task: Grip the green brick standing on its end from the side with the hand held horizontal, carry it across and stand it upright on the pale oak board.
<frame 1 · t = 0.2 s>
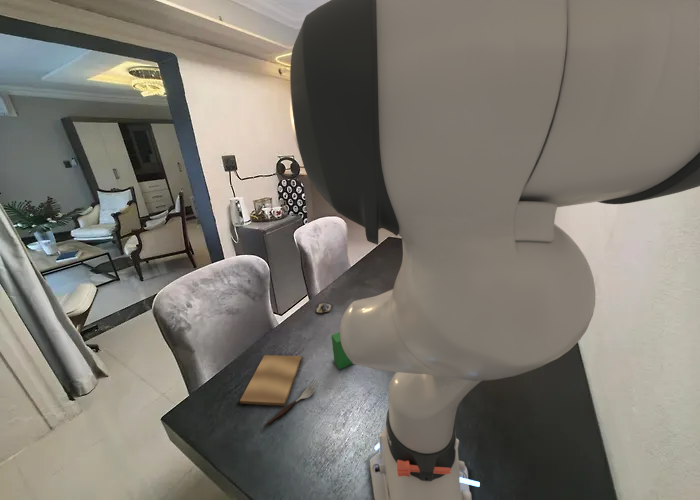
hand: (406, 198, 63), 48 cm above the table, tool pointing down, fingers open, 8 cm apart
fork: (292, 406, 67), on the table
brick: (344, 362, 79), on the table
board: (273, 379, 75), on the table
tan grey flat shell: (323, 308, 106), on the table
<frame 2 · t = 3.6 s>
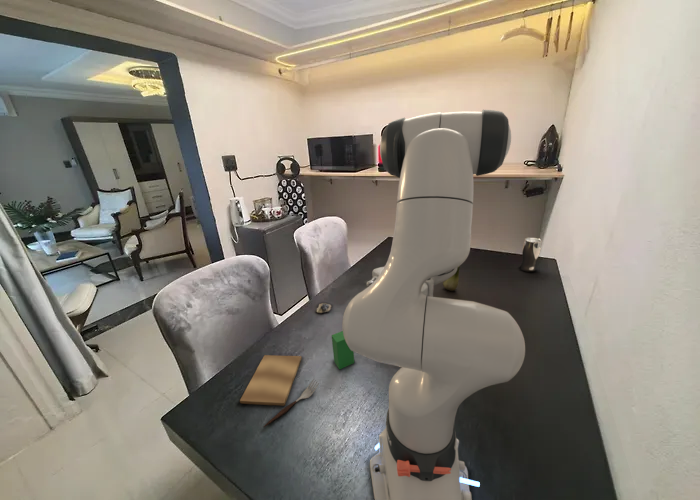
hand: (376, 292, 77), 20 cm above the table, tool horizontal, fingers open, 8 cm apart
nothing on the table moved.
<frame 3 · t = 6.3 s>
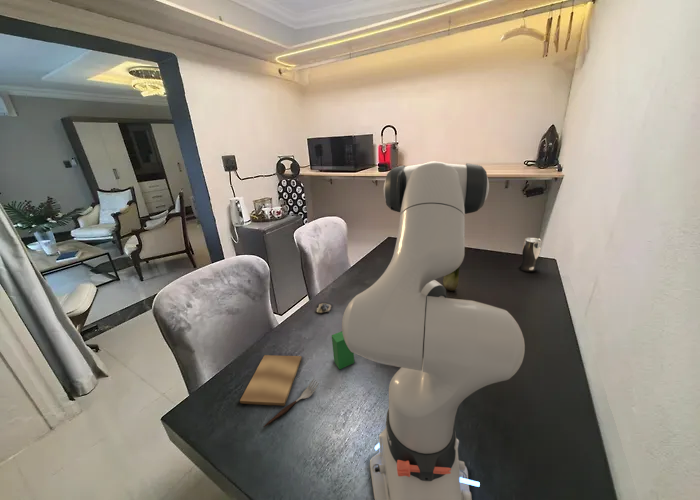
hand: (369, 336, 81), 6 cm above the table, tool horizontal, fingers open, 8 cm apart
nothing on the table moved.
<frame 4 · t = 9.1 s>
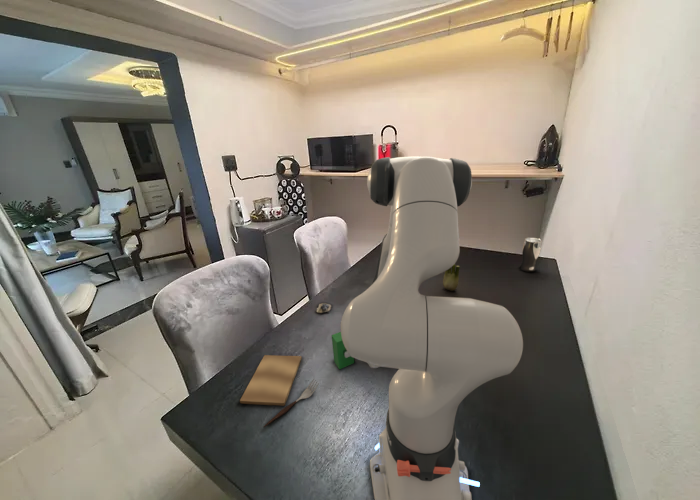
hand: (340, 349, 77), 6 cm above the table, tool horizontal, fingers closed on brick, 3 cm apart
brick: (344, 362, 79), on the table, touching gripper
everything else where it was.
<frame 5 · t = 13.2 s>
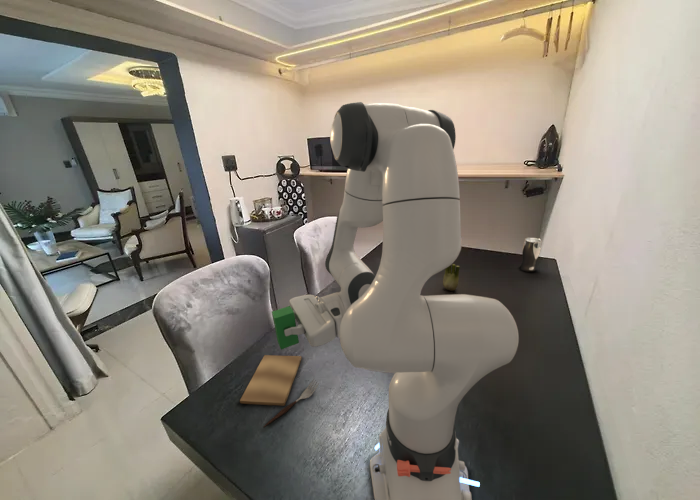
hand: (281, 327, 70), 17 cm above the table, tool horizontal, fingers closed on brick, 3 cm apart
brick: (288, 342, 72), point 11 cm above the table, touching gripper
everything else where it was.
when the fingers open (6 cm above the table, at t = 17.2 s): brick stays where it is, resting on board.
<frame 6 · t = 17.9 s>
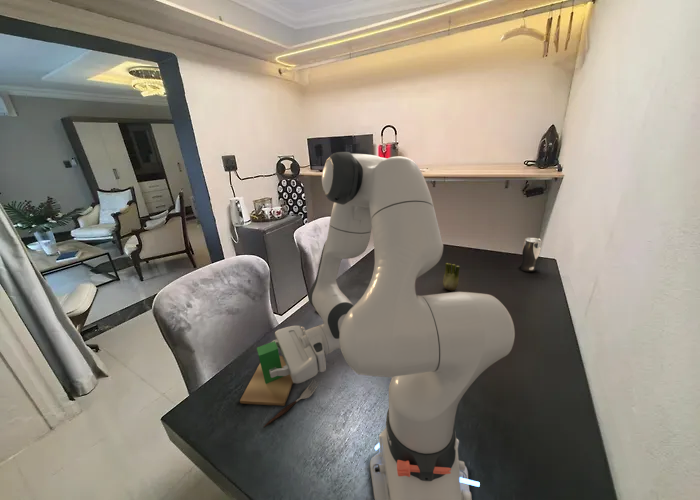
hand: (266, 362, 72), 7 cm above the table, tool horizontal, fingers open, 8 cm apart
brick: (273, 375, 75), point 1 cm above the table, touching board
everything else where it was.
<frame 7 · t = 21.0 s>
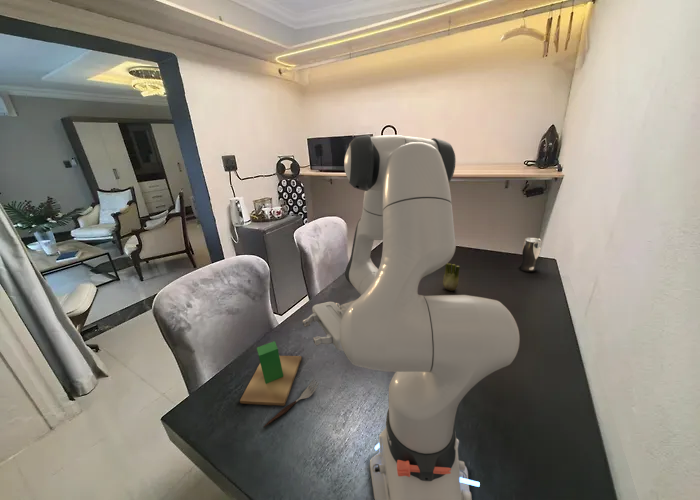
hand: (308, 332, 76), 11 cm above the table, tool horizontal, fingers open, 8 cm apart
nothing on the table moved.
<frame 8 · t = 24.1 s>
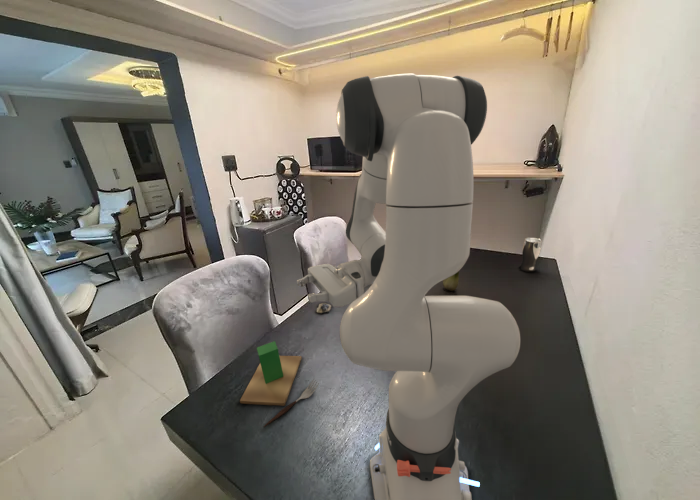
hand: (303, 290, 71), 25 cm above the table, tool horizontal, fingers open, 8 cm apart
nothing on the table moved.
at the end: brick inside the target area on the board (0.2 cm from its centre), point 1.0 cm above the board's base; brick tilted 0°; the gripper is holding nothing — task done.
